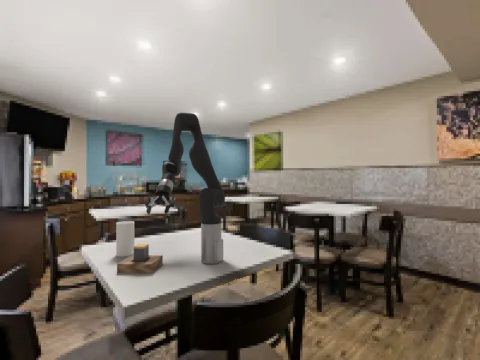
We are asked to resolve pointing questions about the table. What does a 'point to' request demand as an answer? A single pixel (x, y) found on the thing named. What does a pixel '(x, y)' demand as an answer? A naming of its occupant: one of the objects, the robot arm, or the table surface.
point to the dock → (140, 265)
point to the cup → (125, 238)
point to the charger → (141, 253)
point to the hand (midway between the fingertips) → (156, 213)
